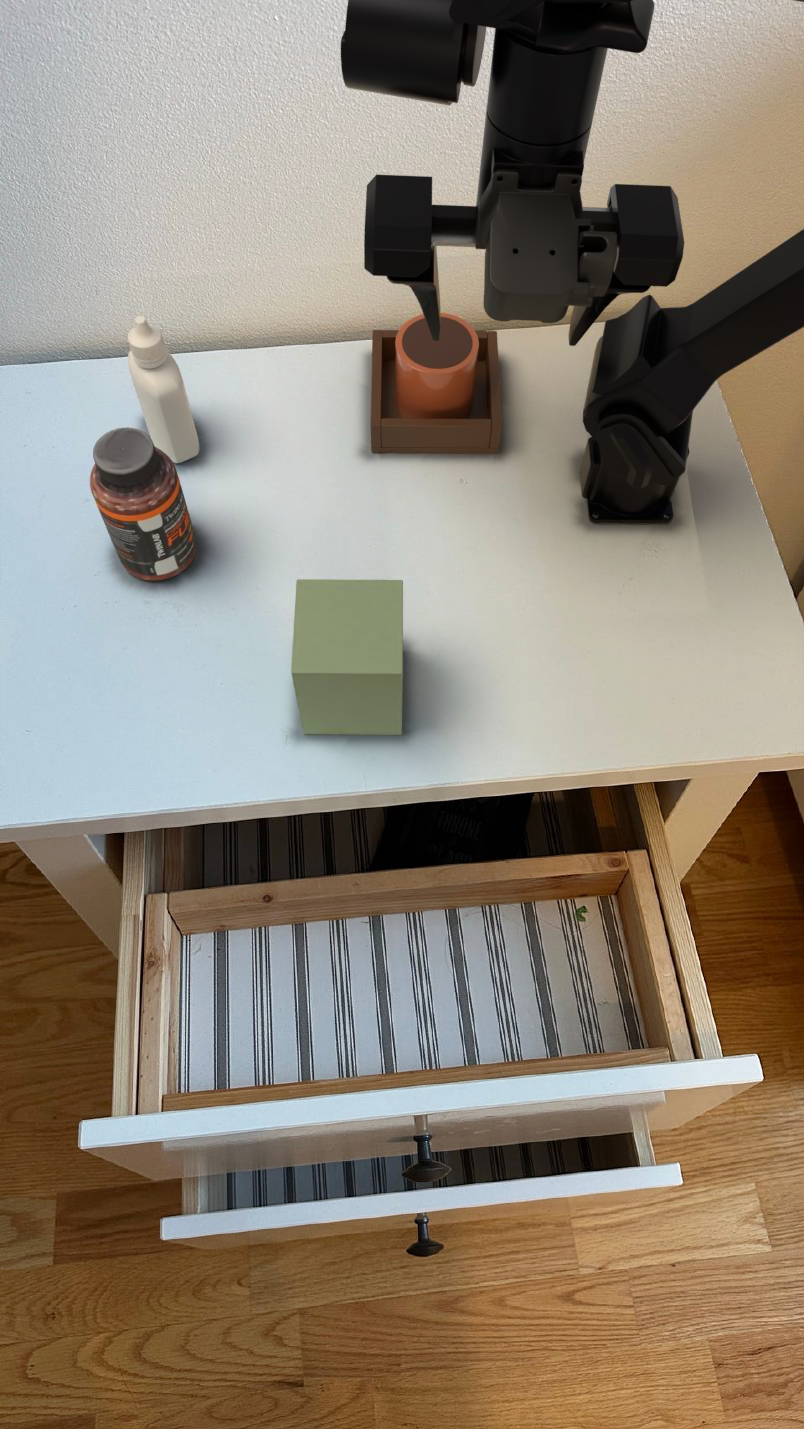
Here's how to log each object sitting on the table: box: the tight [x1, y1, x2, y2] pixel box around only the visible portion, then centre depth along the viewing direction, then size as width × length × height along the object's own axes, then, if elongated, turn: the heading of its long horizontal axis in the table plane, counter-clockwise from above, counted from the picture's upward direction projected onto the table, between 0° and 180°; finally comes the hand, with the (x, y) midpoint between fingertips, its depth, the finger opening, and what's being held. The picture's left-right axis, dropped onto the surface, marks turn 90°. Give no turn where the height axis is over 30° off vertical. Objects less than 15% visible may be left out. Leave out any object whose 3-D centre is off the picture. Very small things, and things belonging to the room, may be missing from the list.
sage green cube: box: [290, 578, 404, 736], centre depth 65 cm, size 7×7×9 cm
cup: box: [395, 312, 479, 419], centre depth 77 cm, size 6×6×6 cm
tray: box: [370, 329, 503, 454], centre depth 79 cm, size 10×10×3 cm
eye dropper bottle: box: [127, 315, 200, 464], centre depth 74 cm, size 4×6×12 cm
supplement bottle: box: [89, 426, 198, 582], centre depth 69 cm, size 6×6×11 cm
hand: (503, 339), depth 66 cm, fingers open, 9 cm apart
